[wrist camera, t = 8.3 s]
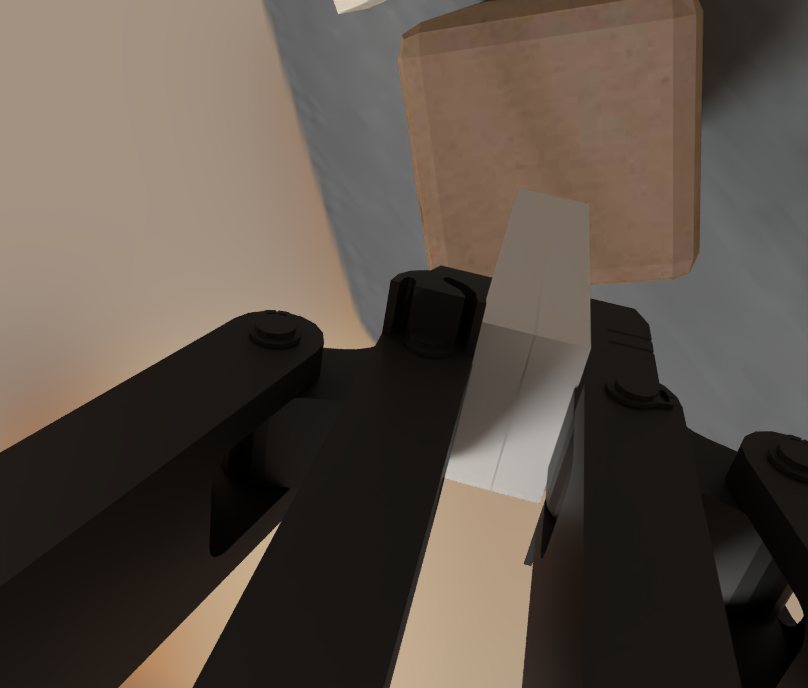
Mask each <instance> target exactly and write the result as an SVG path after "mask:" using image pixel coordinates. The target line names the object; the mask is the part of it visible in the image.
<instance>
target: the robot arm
mask: <svg viewBox="0 0 808 688" xmlns="http://www.w3.org/2000/svg"><path fill="white" fill-rule="evenodd" d="M323 345H324V339H323V332H322V331H321V330H320V329H319V328H318V327H317V325H316V324H314V323H312V322H311V321H309V320H307V319H305V318H303V317H301V316H297V315H294V314H290V313H289V312H284V311H278V312H276V310H265V311H260V312H252V313H247V314H244V315H242V316H239V317H236V318H234V319H232V320H231V321H229V322H227V323H225V324H224V325H222V326H220V327H218V328H217V329H215V330H213V331H212V332H210V333H208V334H206V335H205V336H203V337H201V338H199V339H197V340H196V341H194V342H192V343H191V344H189V345H187V346H185V347H183V348H182V349H180V350H178V351H177V352H175V353H173V354H171V355H170V356H168V357H166V358H165V359H163V360H161V361H159V362H157V363H156V364H154V365H152V366H150V367H149V368H147V369H145V370H143V371H142V372H140V373H138V374H137V375H135V376H133V377H131V378H129V379H128V380H126V381H124V382H123V383H121V384H119V385H117V386H116V387H114V388H112V389H110V390H109V391H107V392H105V393H103V394H102V395H100V396H98V397H96V398H95V399H93V400H91V401H89V402H88V403H86V404H84V405H82V406H81V407H79V408H77V409H75V410H74V411H72V412H70V413H69V414H67V415H65V416H63V417H61V418H60V419H58V420H56V421H54V422H53V423H51V424H49V425H48V426H46V427H44V428H42V429H41V430H39V431H37V432H35V433H34V434H32V435H30V436H28V437H27V438H25V439H23V440H21V441H20V442H18V443H16V444H14V445H13V446H11V447H9V448H7V449H6V450H4V451H2V452H0V688H118V687H119V686H120V685H121V684H122V683H123V682H124V681H125V680H126V679H127V678H128V677H129V676H130V675H131V674H132V673H133V672H134V671H135V670H136V669H137V668H138V667H139V666H140V665H141V664H142V663H143V662H144V661H145V660H146V659H147V658H148V657H149V656H150V655H151V654H152V653H153V652H154V651H155V650H156V648H158V646H159V645H160V644H161V643H162V642H163V641H164V640H165V639H166V638H167V637H168V636H169V635H170V634H171V633H172V632H173V631H174V630H175V629H176V628H177V627H178V626H179V625H180V624H181V623H182V622H183V621H184V620H185V619H186V618H187V617H188V616H189V615H190V614H191V613H192V612H193V611H194V610H195V609H196V608H197V607H198V606H199V605H200V603H201V602H203V600H205V598H206V597H207V596H208V595H209V594H210V593H211V592H212V591H213V590H214V589H215V588H216V587H217V586H218V585H219V584H220V583H221V582H222V581H223V580H224V579H225V578H226V577H227V576H228V575H229V574H230V573H231V572H232V571H233V570H234V569H235V568H236V567H237V566H238V565H239V564H240V563H241V562H242V561H243V560H244V559H245V558H246V557H247V556H248V555H249V553H251V552H252V550H253V549H254V548H255V547H256V546H257V545H258V544H259V543H260V542H261V541H262V540H263V539H264V538H265V537H266V536H267V535H268V534H269V533H270V532H271V531H272V530H273V529H274V528H275V527H276V526H277V525H278V524H279V523H280V522H281V523H280V525H279V527H278V529H277V531H276V533H275V534H274V536H273V538H272V540H271V542H270V544H269V546H268V548H267V549H266V552H265V553H264V555H263V557H262V559H261V561H260V562H259V564H258V566H257V568H256V570H255V572H254V574H253V576H252V577H251V580H250V581H249V583H248V585H247V587H246V589H245V590H244V592H243V594H242V596H241V598H240V600H239V602H238V604H237V605H236V607H235V609H234V611H233V613H232V615H231V617H230V619H229V620H228V622H227V624H226V626H225V628H224V630H223V632H222V634H221V635H220V638H219V639H218V641H217V643H216V645H215V647H214V649H213V650H212V652H211V655H210V656H209V658H208V660H207V662H206V663H205V665H204V667H203V669H202V671H201V673H200V675H199V677H198V678H197V680H196V682H195V684H194V686H193V688H390V684H391V680H392V676H393V673H394V669H395V665H396V661H397V658H398V654H399V650H400V646H401V642H402V639H403V635H404V631H405V627H406V624H407V620H408V616H409V612H410V608H411V605H412V601H413V597H414V593H415V590H416V585H417V582H418V578H419V574H420V570H421V567H422V563H423V559H424V556H425V552H426V548H427V544H428V540H429V537H430V533H431V529H432V525H433V522H434V518H435V514H436V510H437V506H438V502H439V499H440V495H441V491H442V486H443V482H444V478H445V479H449V480H453V481H456V482H461V483H464V484H468V485H471V486H475V487H479V488H482V489H486V490H490V491H493V492H497V493H501V494H505V495H508V496H512V497H516V498H520V499H523V500H527V501H531V502H535V503H538V504H539V503H540V500H541V497H542V494H543V491H544V488H545V485H546V482H547V489H546V499H545V502H544V505H543V508H542V511H541V514H540V517H539V520H538V523H537V526H536V529H535V532H534V535H533V538H532V541H531V544H530V547H529V550H528V553H527V556H526V558H525V561H524V564H526V565H529V566H531V565H532V563H533V570H532V581H531V592H530V604H529V615H528V626H527V637H526V648H525V659H524V670H523V681H522V682H523V683H522V688H808V441H807V440H801V438H799V437H796V436H793V435H785V434H781V433H777V432H772V431H765V432H754V433H751V434H749V435H747V436H745V437H744V439H743V441H742V443H741V445H740V447H739V449H738V452H737V451H735V450H732V449H730V448H728V447H725V446H723V445H721V444H718V443H716V442H714V441H712V440H709V439H707V438H705V437H703V436H701V435H699V434H697V433H695V432H694V431H692V430H691V429H689V428H688V427H687V426H686V422H685V417H684V412H683V408H682V406H681V404H680V402H679V400H678V398H677V397H676V396H675V395H674V394H673V393H672V392H671V391H670V390H669V389H667V388H666V387H665V386H664V385H662V384H660V383H659V379H658V373H657V367H656V362H655V356H654V354H653V352H654V350H653V344H652V342H651V333H650V327H649V324H648V323H647V322H646V321H645V320H644V318H643V317H642V316H641V315H640V314H639V313H638V312H637V311H636V310H635V309H633V308H629V307H624V306H620V305H616V304H612V303H607V302H603V301H599V300H595V299H590V255H589V204H587V203H583V202H578V201H574V200H569V199H565V198H560V197H556V196H551V195H547V194H542V193H538V192H533V191H529V190H524V189H520V188H518V192H517V195H516V198H515V202H514V205H513V209H512V212H511V216H510V219H509V223H508V226H507V230H506V233H505V236H504V240H503V243H502V247H501V250H500V254H499V257H498V261H497V264H496V267H495V271H494V274H493V278H492V277H488V276H484V275H480V274H475V273H471V272H467V271H463V270H459V269H454V268H450V267H446V266H442V265H440V266H438V267H436V268H434V269H432V270H418V271H408V272H404V273H400V274H398V275H397V276H395V277H394V278H393V279H392V280H391V282H390V289H389V295H388V301H387V307H386V313H385V319H384V325H383V331H382V334H381V336H380V338H379V340H378V342H377V344H376V345H375V346H374V347H371V348H364V349H331V348H323ZM793 592H794V594H795V595H796V597H797V599H798V601H799V603H800V605H801V608H802V610H803V614H804V617H803V618H802V620H801V621H800V622H799V623H798V624H797V623H796V622H795V620H794V619H793V618H792V616H791V615H790V613H789V611H788V609H787V608H786V606H785V604H786V603H787V601H788V599H789V598H790V596H791V594H792V593H793Z"/></svg>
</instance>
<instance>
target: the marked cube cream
mask: <svg viewBox="0 0 808 688" xmlns="http://www.w3.org/2000/svg"><path fill="white" fill-rule="evenodd" d="M384 1H387V0H334V3H335V6H336V9H337V11H338V14H341V13H346V12H352V11H357V10H362V9H368V8H370V7H372V6H375V5H377V4H380V3H382V2H384Z"/></svg>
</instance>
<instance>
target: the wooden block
mask: <svg viewBox="0 0 808 688" xmlns="http://www.w3.org/2000/svg"><path fill="white" fill-rule="evenodd" d="M397 58H398V65H399V71H400V78H401V85H402V92H403V98H404V105H405V112H406V118H407V125H408V132H409V139H410V145H411V152H412V159H413V165H414V172H415V179H416V185H417V192H418V199H419V206H420V212H421V219H422V226H423V232H424V239H425V246H426V253H427V259H428V266H429V270H432V269H434V268H436V267H438V266H440V265H442V266H446V267H450V268H454V269H459V270H463V271H467V272H471V273H475V274H480V275H484V276H488V277H492V278H493V274H494V271H495V267H496V264H497V261H498V257H499V254H500V250H501V247H502V243H503V240H504V236H505V233H506V230H507V226H508V223H509V219H510V216H511V212H512V209H513V205H514V202H515V198H516V195H517V192H518V188H520V189H524V190H529V191H533V192H538V193H542V194H547V195H551V196H556V197H560V198H565V199H569V200H574V201H578V202H583V203H587V204H589V255H590V285H594V284H610V283H625V282H641V281H656V280H671V279H674V278H677V277H680V276H683V275H686V274H689V272H690V271H691V269H692V266H693V264H694V262H695V260H696V258H697V256H698V254H699V240H700V180H701V120H702V60H703V9H702V7H701V5H700V2H699V0H491V1H485V2H481V3H478V4H475V5H472V6H469V7H466V8H463V9H460V10H457V11H454V12H451V13H448V14H445V15H442V16H439V17H436V18H433V19H430V20H427V21H424V22H421V23H419V24H418V25H416V26H415V27H413V28H412V29H410V30H409V31H407V32H406V33H404V34H403V35H402V39H401V43H400V48H399V53H398V57H397Z"/></svg>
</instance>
